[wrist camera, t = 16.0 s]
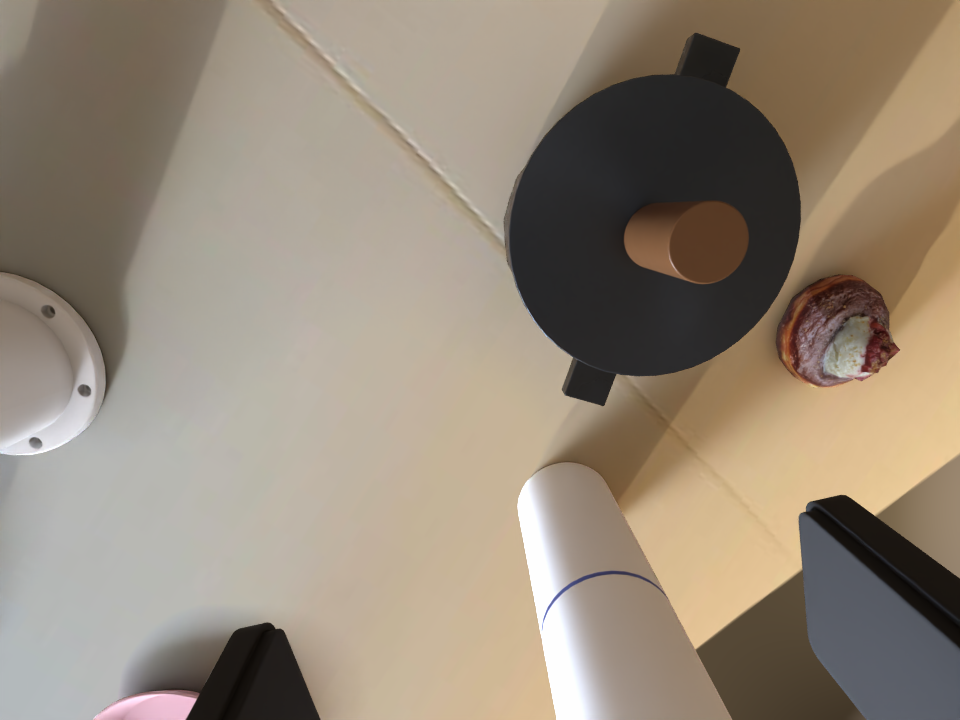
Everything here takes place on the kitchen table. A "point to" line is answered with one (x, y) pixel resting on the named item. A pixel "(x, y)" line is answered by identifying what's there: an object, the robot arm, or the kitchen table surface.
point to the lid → (654, 225)
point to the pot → (696, 61)
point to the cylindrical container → (605, 609)
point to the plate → (151, 706)
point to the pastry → (835, 332)
